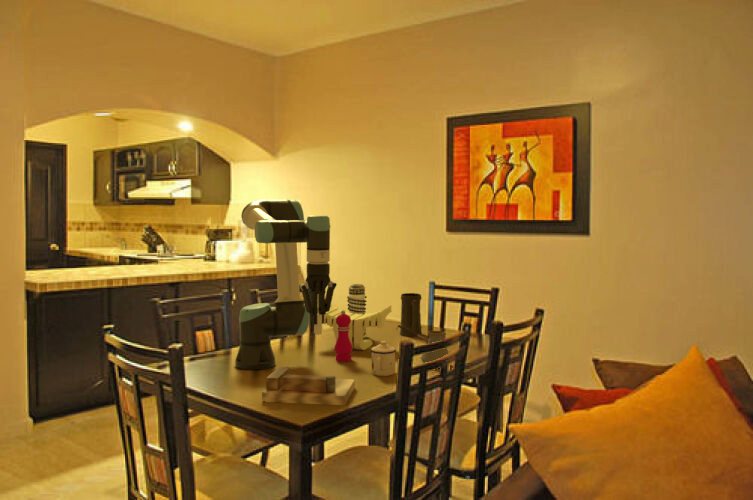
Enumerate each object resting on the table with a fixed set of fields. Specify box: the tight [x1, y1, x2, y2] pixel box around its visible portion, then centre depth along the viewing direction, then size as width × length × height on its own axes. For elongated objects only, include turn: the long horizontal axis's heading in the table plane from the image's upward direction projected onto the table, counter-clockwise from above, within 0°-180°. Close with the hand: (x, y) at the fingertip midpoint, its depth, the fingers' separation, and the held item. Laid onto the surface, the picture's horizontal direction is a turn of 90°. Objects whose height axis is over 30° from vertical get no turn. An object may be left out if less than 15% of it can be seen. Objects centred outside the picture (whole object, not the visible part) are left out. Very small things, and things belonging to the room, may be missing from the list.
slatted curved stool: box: [318, 304, 392, 351], centre depth 260 cm, size 30×16×18 cm, turn 74°
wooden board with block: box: [261, 366, 356, 406], centre depth 191 cm, size 26×18×7 cm
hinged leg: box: [283, 373, 336, 393], centre depth 185 cm, size 16×4×4 cm, turn 78°
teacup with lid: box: [370, 340, 397, 377], centre depth 216 cm, size 12×9×12 cm
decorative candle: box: [346, 283, 368, 339], centre depth 281 cm, size 9×9×25 cm
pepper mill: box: [334, 309, 353, 363], centre depth 237 cm, size 7×7×20 cm
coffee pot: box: [396, 324, 450, 364], centre depth 230 cm, size 21×12×15 cm, turn 75°
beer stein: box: [399, 292, 423, 337], centre depth 285 cm, size 15×11×20 cm
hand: (317, 333), depth 196 cm, fingers closed
